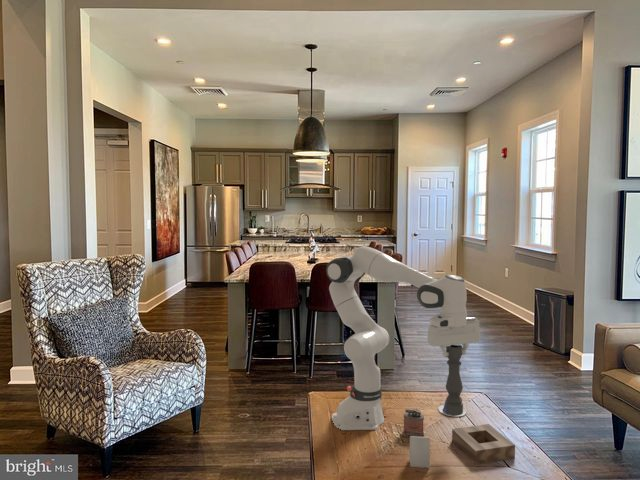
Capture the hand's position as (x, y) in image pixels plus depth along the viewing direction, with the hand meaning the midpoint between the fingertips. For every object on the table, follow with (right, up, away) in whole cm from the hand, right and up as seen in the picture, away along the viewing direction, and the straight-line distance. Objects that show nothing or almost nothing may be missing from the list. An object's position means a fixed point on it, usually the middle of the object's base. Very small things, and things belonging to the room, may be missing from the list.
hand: (454, 355), depth 165 cm
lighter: (-12, -35, +13) cm, 40 cm away
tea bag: (-15, -37, -8) cm, 40 cm away
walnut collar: (+11, -36, +1) cm, 37 cm away
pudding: (+9, -34, +32) cm, 48 cm away
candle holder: (0, -22, +1) cm, 22 cm away
